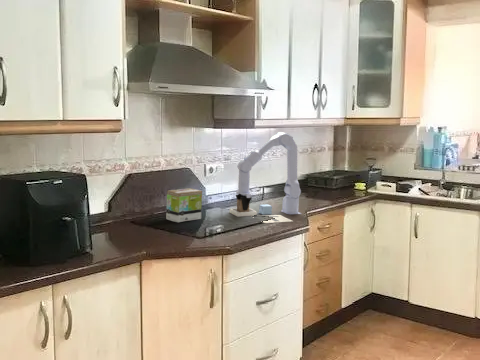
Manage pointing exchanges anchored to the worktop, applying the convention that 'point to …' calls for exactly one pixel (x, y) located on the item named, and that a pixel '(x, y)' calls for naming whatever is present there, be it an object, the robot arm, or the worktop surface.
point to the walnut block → (240, 207)
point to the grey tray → (236, 213)
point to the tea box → (183, 205)
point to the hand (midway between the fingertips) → (243, 209)
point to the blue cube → (265, 209)
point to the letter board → (277, 219)
